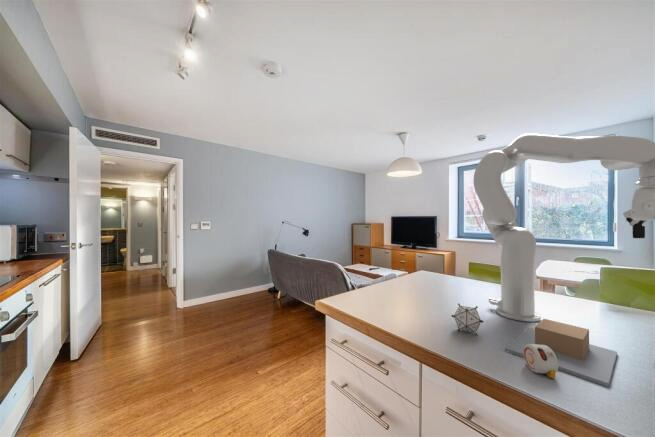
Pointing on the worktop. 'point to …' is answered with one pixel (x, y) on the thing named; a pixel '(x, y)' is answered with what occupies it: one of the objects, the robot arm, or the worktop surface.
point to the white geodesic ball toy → (467, 319)
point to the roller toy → (541, 359)
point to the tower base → (572, 365)
